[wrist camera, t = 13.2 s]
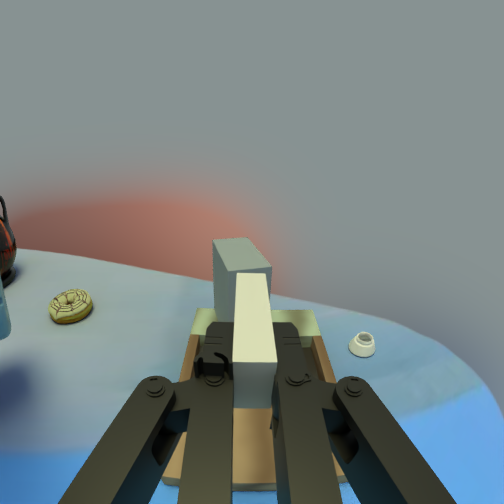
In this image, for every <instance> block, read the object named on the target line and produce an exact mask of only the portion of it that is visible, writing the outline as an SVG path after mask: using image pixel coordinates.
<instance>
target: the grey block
mask: <svg viewBox="0 0 504 504" xmlns="http://www.w3.org/2000/svg"><path fill="white" fill-rule="evenodd" d="M212 241H213V281H214V308H215V313H216V316H217V319H218V322H234V317H235V297H236V279H237V273H264V274H266V281H267V289H268V296H269V303H270V290H271V274H272V266H271V265H270V264H269V262H268V261H267V260H266V259H265V258H264V257H263V255H262V254H261V253H260V252H259V251H258V249H257V248H256V247H255V246H254V245H253V244H252V242H251V241H250V240H249V239H248V238H247V237H246V238H231V239H218V240H212Z"/></svg>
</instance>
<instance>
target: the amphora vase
mask: <svg viewBox="0 0 504 504" xmlns="http://www.w3.org/2000/svg"><path fill="white" fill-rule="evenodd" d="M0 202H1V204H2V208H3V217H1V215H0V275H1V280H2V285H3V288H4V287H5V286H7V285H8V284H9V283H10V282H11V281H12V280H13V279H14V277H15V274H16V271H15V268H14V267H12V266H13V263H14V260H15V257H16V250H17V247H16V242H15V238H14V235H13V232H12V230H11V228H10V226H9V223H8V217H7V211H6V207H5V202H4V199H3V198H2V196H0Z"/></svg>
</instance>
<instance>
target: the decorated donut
mask: <svg viewBox="0 0 504 504" xmlns="http://www.w3.org/2000/svg"><path fill="white" fill-rule="evenodd" d="M91 308H92V299H91V297H90V295H89V294H88V292H86V291H85V290H81V289H71V290H68V291H65V292H62V293H61V294H59V295H57V296H56V297H55V298H54V299H53V300H52V301H51V302H50V304H49V306H48V311H49V313H50V316H51V318H52V320H54V321H55V322H57V323H60V324H61V323H64V324H67V323H73V322H76V321H79V320H81V319H83V318H84V317H85V316H87V315H88V313H89V312H90V310H91Z"/></svg>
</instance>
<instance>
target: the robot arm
mask: <svg viewBox="0 0 504 504" xmlns="http://www.w3.org/2000/svg"><path fill="white" fill-rule="evenodd" d="M10 332H11V322H10V318H9V313H8V308H7V304H6V299H5V295H4V290H3V285H2V280H1V275H0V340H2V339H4V338H6V337H8V336H9V334H10ZM193 365H194V372H195V376H194V377H193V378H191V379H189V380H186V381H182V382H177V383H172V382H171V381H170V380H169V379H167V378H165V377H162V376H150V377H147V378H145V379H143V380H142V381H141V382H140V383H139V384H138V386H137V387H136V388H135V390H134V391H133V393H132V394H131V396H130V397H129V399H128V400H127V401H126V403H125V404H124V406H123V407H122V409H121V410H120V412H119V413H118V414H117V416H116V417H115V419H114V420H113V422H112V423H111V425H110V426H109V428H108V429H107V431H106V432H105V433H104V435H103V436H102V438H101V439H100V441H99V442H98V444H97V445H96V447H95V448H94V450H93V451H92V453H91V454H90V456H89V457H88V459H87V460H86V462H85V463H84V465H83V466H82V468H81V469H80V471H79V472H78V474H77V475H76V477H75V478H74V480H73V481H72V483H71V484H70V486H69V487H68V489H67V490H66V492H65V493H64V495H63V496H62V498H61V499H60V501H59V503H58V504H149V502H150V500H151V498H152V495H153V493H154V491H155V489H156V487H157V485H158V483H159V481H160V479H161V477H162V475H163V473H164V471H165V469H166V467H167V465H168V463H169V461H170V459H171V457H172V455H173V453H174V451H175V449H176V447H177V445H178V442H179V440H180V438H181V436H182V434H183V432H187V434H186V441H185V448H184V455H183V462H182V470H181V477H180V485H179V493H178V502H177V504H232V485H233V423H234V414H233V412H234V408H244V409H267V408H271V404H272V418H271V424H270V429H272V436H273V449H274V461H275V474H276V487H277V500H278V504H343V503H342V498H341V493H340V488H339V483H338V479H337V474H336V469H335V465H334V460H333V456H332V453H333V455H334V456H335V458H336V460H337V462H338V464H339V466H340V467H341V469H342V471H343V473H344V475H345V476H346V478H347V480H348V482H349V484H350V485H351V487H352V489H353V491H354V493H355V494H356V496H357V498H358V500H359V501H360V503H361V504H457V503H456V502H455V501H454V499H453V498H452V496H451V495H450V494H449V492H448V491H447V489H446V488H445V487H444V485H443V484H442V482H441V481H440V480H439V478H438V477H437V476H436V474H435V473H434V471H433V470H432V469H431V467H430V466H429V465H428V463H427V462H426V460H425V459H424V458H423V456H422V455H421V454H420V452H419V451H418V450H417V448H416V447H415V446H414V444H413V443H412V441H411V440H410V439H409V437H408V436H407V435H406V433H405V432H404V431H403V429H402V428H401V427H400V425H399V424H398V423H397V421H396V420H395V419H394V417H393V416H392V415H391V413H390V412H389V411H388V409H387V408H386V407H385V405H384V404H383V403H382V401H381V400H380V399H379V397H378V396H377V395H376V393H375V392H374V391H373V389H372V388H371V387H370V385H369V384H368V383H367V382H366V381H365V380H363V379H361V378H359V377H354V376H349V377H344V378H342V379H340V380H339V381H338V383H337V384H336V383H330V382H325V381H321V380H319V379H316V378H315V377H313V375H312V373H311V372H309V371H308V369H307V365H306V361H305V357H304V353H303V349H302V345H301V341H300V337H299V332H298V329H297V328H296V327H295V326H294V324H293V323H292V322H272V318H271V310H270V303H269V296H268V289H267V281H266V274H264V273H237V279H236V297H235V317H234V322H213V321H212V323H211V324H210V325H209V326H208V327H207V329H206V335H205V340H204V346H203V352H201V353H199V354H198V355H197V356H196V357H195V359H194V361H193Z"/></svg>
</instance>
